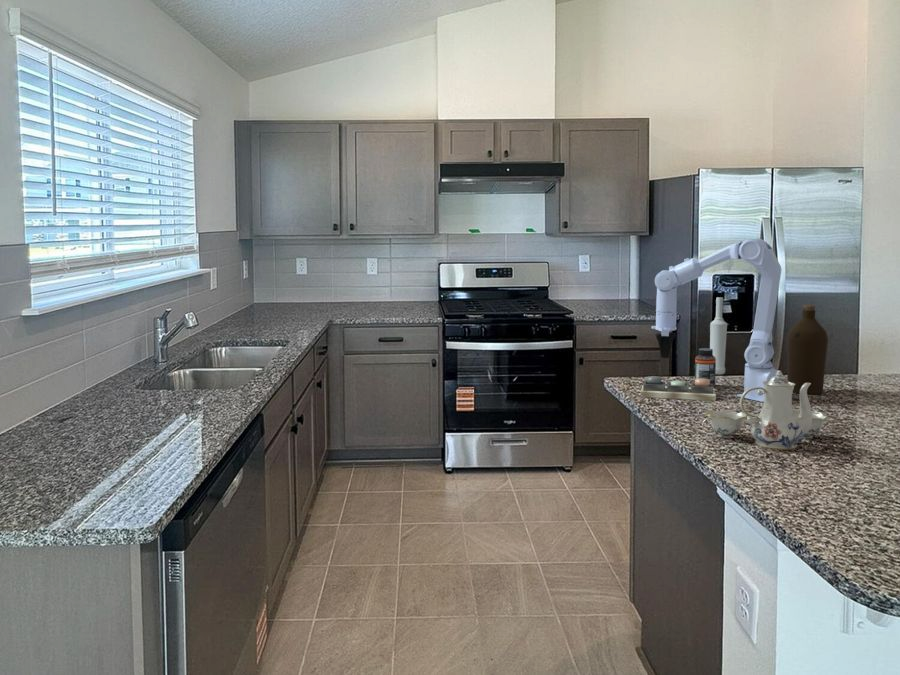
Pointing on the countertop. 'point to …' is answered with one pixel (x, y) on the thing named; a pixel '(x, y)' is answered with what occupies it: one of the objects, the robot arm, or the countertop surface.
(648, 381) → the button charcoal
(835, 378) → the countertop surface
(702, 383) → the button terracotta
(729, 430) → the chinaware
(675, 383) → the button sage
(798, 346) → the olive oil
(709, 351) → the supplement bottle
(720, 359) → the bottle
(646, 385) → the panel
